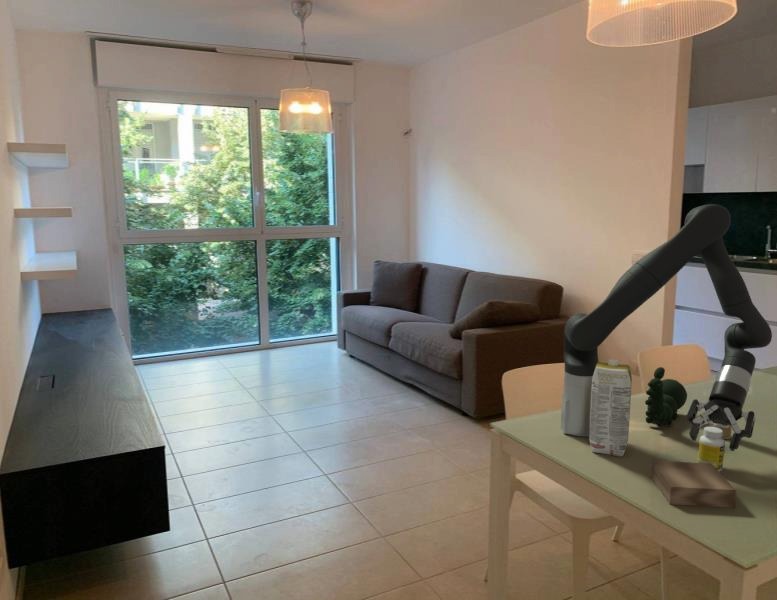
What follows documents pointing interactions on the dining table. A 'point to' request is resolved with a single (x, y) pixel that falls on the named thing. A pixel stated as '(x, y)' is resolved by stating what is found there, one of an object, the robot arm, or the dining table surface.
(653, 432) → the dining table surface
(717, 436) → the supplement bottle
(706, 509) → the dining table surface
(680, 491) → the walnut plinth
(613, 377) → the juice carton
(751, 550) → the dining table surface
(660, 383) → the toy figurine
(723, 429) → the sprinkles bottle
